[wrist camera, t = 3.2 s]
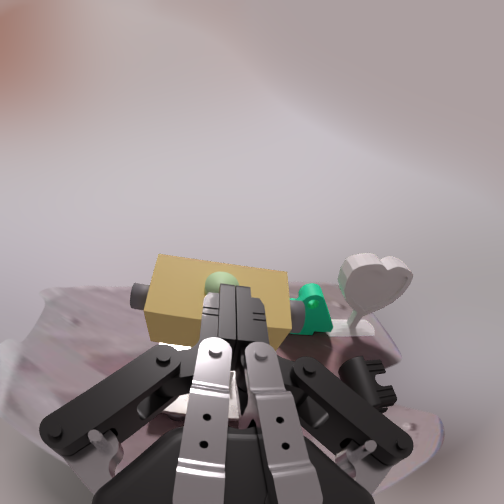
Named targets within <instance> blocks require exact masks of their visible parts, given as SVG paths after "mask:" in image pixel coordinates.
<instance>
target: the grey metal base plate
mask: <svg viewBox="0 0 504 504" xmlns="http://www.w3.org/2000/svg"><path fill="white" fill-rule="evenodd" d="M160 344H165V343H159V345H160ZM166 345H170V346H172V347H174V348H175V349H176V350H185V349H189V348H191V347H185V346H178V345H172V344H166ZM235 382H236V380H235V371H230V381H229V391H230V401H229V415H228V421H239V414H238V406H237V398H236V390H235ZM188 400H189V394H186V395H180V396H179V397H178V398H177V399H176V400H175V401H174V402H173V403H172V404H170V405H169V406H168V407H167V408H166V409H164V410H163V411H162V412H161V413H165V414H167V415H168V417H169V418H170V419H172V420H174V421H182V420H184V419H185V417H186V411H187V405H188Z"/></svg>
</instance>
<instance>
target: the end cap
mask: <svg viewBox="0 0 504 504" xmlns="http://www.w3.org/2000/svg"><path fill="white" fill-rule="evenodd" d="M385 372H386V371H385V369H384V366H383V364H382V362H381V360H370V361H365V360H364V358H363V356H358V357H355V358H352V359H350V360H348V361H346V362H345V363H344V364H343V365H342V366H341V367H340V368H339V371H338V373H339V376H340V379H341V381H342V382H344V383H345V384H346V385H347V386H348V387H350V388H351V389H352V390H353V391H354V392H356V393H357V394H358V395H359V396H361V397H362V398H363V399H364V400H365V401H367V402H368V403H369V404H370V405H372V406H373V407H374V408H375V409H377V410H378V411H379V412H380V413H384V412H386V411H387V410H388V408H387V407H388V406H393V405H394V403H395V402H396V401H397V397H396V394H395V392H394V390H393V387H392V386H391V385H390V386H380V385H379V384H378V383H377V382H376V380H375V375H376V374H382V373H385ZM383 407H386V408H383Z"/></svg>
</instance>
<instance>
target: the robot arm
mask: <svg viewBox="0 0 504 504" xmlns="http://www.w3.org/2000/svg"><path fill="white" fill-rule="evenodd" d="M230 371H235V380H236V382H235V390H236V398H237V406H238V414H239V426H238V429H236V428H232V427H229V426H228V415H229V401H230V391H229V381H230ZM186 394H189V400H188V405H187V411H186V417H185V423H184V426H183V427H179V428H176V429H173V430H171V431H169V432H167V433H165V434H164V435H162V436H161V437H160V438H159V439H158V440H157V441H155V442H154V443H153V444H152V445H151V446H150V447H149V448H148V449H146V450H145V451H144V452H143V453H142V454H141V455H140V456H138V457H137V458H136V459H135V460H134V461H133V462H131V463H130V464H129V465H128V466H127V467H125V468H124V469H123V470H122V471H121V472H119V473H118V474H117V475H116V476H115V469H116V467H117V465H118V464H119V463H120V462H121V460H122V459H123V455H124V451H123V448H122V446H121V443H122V442H123V441H125V440H126V439H127V438H129V437H130V436H131V435H133V434H134V433H135V432H136V431H138V430H139V429H140V428H142V427H143V426H144V425H146V424H147V423H148V422H149V421H151V420H152V419H153V418H154V417H156V416H157V415H158V414H159V413H161V412H162V411H163V410H164V409H166V408H167V407H168V406H169V405H170V404H172V403H173V402H174V401H175V400H176V399H177V398H178V397H179V396H180V395H186ZM301 426H302V427H303V428H304V429H305V430H307V431H308V432H309V433H310V434H311V435H312V436H313V437H314V438H316V439H317V440H318V441H319V442H320V443H321V444H322V445H324V446H325V447H326V448H327V449H328V450H329V451H331V452H332V453H333V454H334V455H335V456H336V458H335V462H336V463H334V462H333V461H332V460H331V459H330V458H329V457H328V456H327V455H326V454H324V453H323V452H322V451H321V450H320V449H319V448H318V447H317V446H316V445H315V444H314V443H313V442H311V441H310V440H309V439H308V438H306V437H305V436H303V433H302V429H301ZM39 432H40V436H41V438H42V440H43V441H44V442H45V444H47V445H48V446H49V447H50V448H51V449H53V450H54V451H55V452H56V453H57V454H59V455H60V456H61V457H63V458H64V459H65V461H66V462H67V463H68V465H69V466H70V467H71V469H72V470H73V471H74V472H75V473H76V475H77V476H78V477H79V478H80V480H81V481H82V482H83V483H84V484H85V485H86V487H87V488H88V489H89V490H90V491H91V492H92V493H93V494H94V497H93V501H92V504H375V502H374V499H373V497H372V494H373V492H374V491H375V490H376V488H377V487H378V486H379V484H380V483H381V482H382V480H383V479H384V478H385V476H386V475H387V473H388V472H389V471H390V469H391V468H392V466H394V465H396V464H397V463H398V462H400V461H401V460H403V459H405V458H406V457H408V456H409V455H410V454H411V453H412V450H413V441H412V438H411V437H410V436H409V435H408V434H407V433H406V432H405V431H403V430H402V429H401V428H400V427H398V426H397V425H396V424H394V423H393V422H392V421H391V420H389V419H388V418H387V417H385V416H384V415H383V414H382V413H380V412H379V411H378V410H377V409H375V408H374V407H373V406H372V405H370V404H369V403H368V402H367V401H365V400H364V399H363V398H362V397H361V396H359V395H358V394H357V393H356V392H354V391H353V390H352V389H351V388H350V387H348V386H347V385H346V384H345V383H344V382H342V381H341V380H340V379H339V378H338V377H336V376H335V375H334V374H333V373H332V372H330V371H329V370H328V369H327V368H326V367H324V366H323V365H322V364H321V363H320V362H319V361H317V360H316V359H314V358H312V357H300V358H298V359H297V360H296V361H295V362H294V361H290V360H287V359H284V358H282V357H280V356H278V355H277V354H276V351H275V350H274V348H273V347H272V346H270V344H269V336H268V329H267V321H266V315H265V306H264V304H263V303H262V301H261V300H260V298H253V297H251V288H250V287H246V286H238V285H236V286H235V285H230V284H223V283H220V287H219V293H212V292H209V293H208V294H207V295H206V296H205V298H204V301H203V310H202V318H201V328H200V338H199V341H198V343H197V344H196V345H195V346H193V347H191V348H189V349H185V350H176V349H175V348H174V347H172V346H170V345H166V344H160V345H156V346H154V347H152V348H151V349H149V350H148V351H146V352H145V353H143V354H142V355H140V356H139V357H137V358H136V359H134V360H133V361H131V362H130V363H128V364H127V365H125V366H124V367H122V368H121V369H119V370H118V371H116V372H115V373H113V374H112V375H110V376H109V377H107V378H105V379H104V380H102V381H101V382H99V383H98V384H96V385H95V386H93V387H92V388H90V389H89V390H87V391H86V392H84V393H82V394H81V395H79V396H78V397H76V398H75V399H73V400H72V401H70V402H68V403H67V404H65V405H64V406H62V407H61V408H59V409H57V410H56V411H54V412H53V413H51V414H50V415H48V416H46V417H45V418H44V419H43V420H42V422H41V424H40V427H39Z"/></svg>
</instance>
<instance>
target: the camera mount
mask: <svg viewBox="0 0 504 504" xmlns="http://www.w3.org/2000/svg"><path fill="white" fill-rule="evenodd" d="M290 300H297V301H302V302H303V303H304V305H305V322H304V326H303V328H302V330H301V332H300V333H290V334H302V335H313V333H314V331H316V332H331V331H332V329H333V324H332V320H331V317H330V314H329V311H328V308H327V304H326V302H325V299H324V296H323V293H322V290H321V288H320V286H319V285H317V284H314V283H310V284H306V285H304V286H303V287H302V288H301V289H300V290H299V297H298V298H297V299H293V298H290Z"/></svg>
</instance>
